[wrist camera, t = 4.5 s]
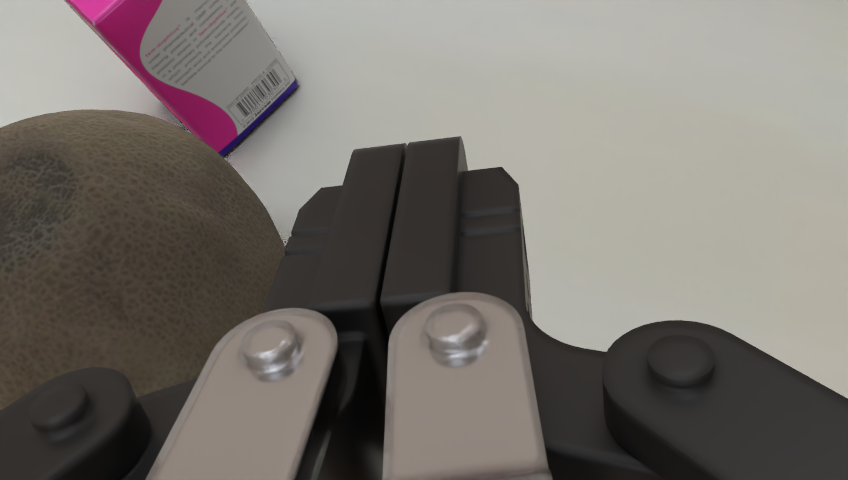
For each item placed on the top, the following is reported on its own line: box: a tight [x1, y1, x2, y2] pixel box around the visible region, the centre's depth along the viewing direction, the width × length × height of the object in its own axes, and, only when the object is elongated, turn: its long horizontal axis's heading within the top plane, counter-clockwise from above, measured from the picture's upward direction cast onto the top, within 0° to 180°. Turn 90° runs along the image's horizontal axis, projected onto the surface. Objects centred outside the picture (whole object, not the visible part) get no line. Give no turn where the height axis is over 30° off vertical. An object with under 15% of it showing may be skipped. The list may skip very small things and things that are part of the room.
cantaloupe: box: [0, 110, 285, 411], centre depth 30 cm, size 14×14×15 cm
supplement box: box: [64, 0, 299, 157], centre depth 37 cm, size 6×6×12 cm
